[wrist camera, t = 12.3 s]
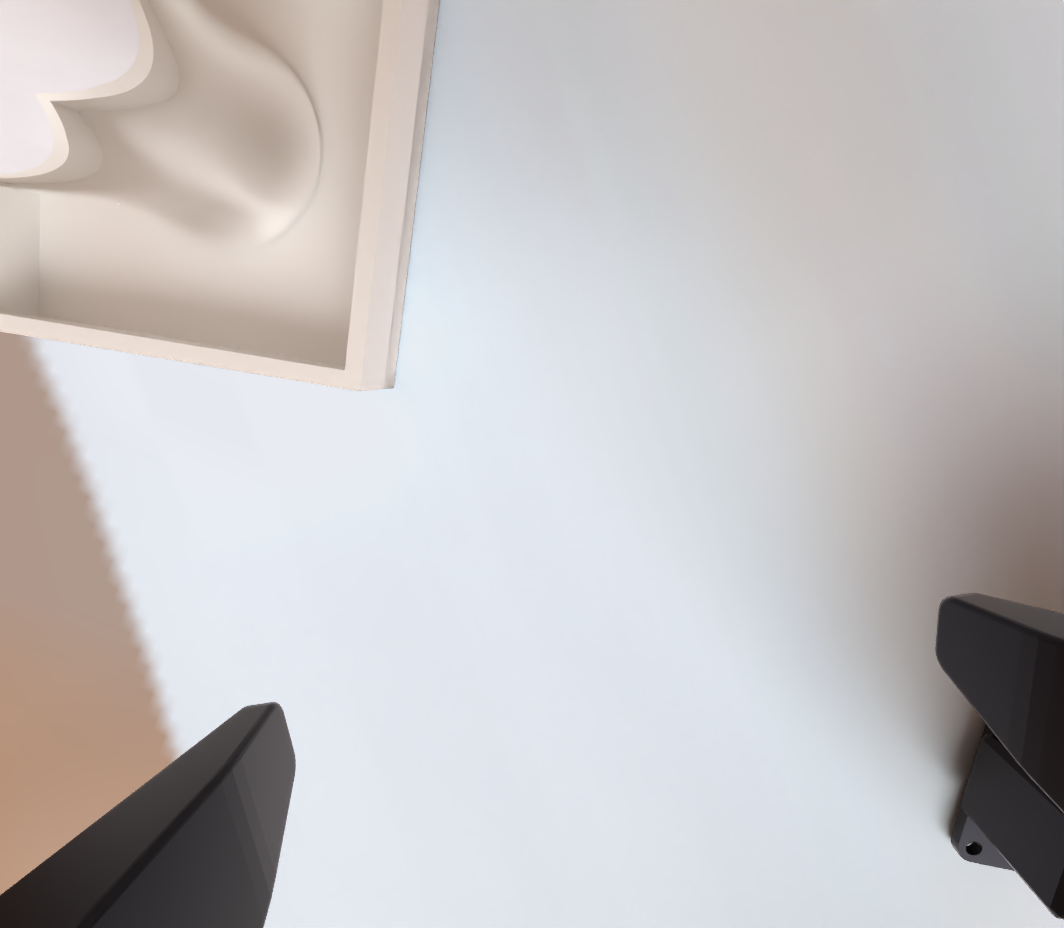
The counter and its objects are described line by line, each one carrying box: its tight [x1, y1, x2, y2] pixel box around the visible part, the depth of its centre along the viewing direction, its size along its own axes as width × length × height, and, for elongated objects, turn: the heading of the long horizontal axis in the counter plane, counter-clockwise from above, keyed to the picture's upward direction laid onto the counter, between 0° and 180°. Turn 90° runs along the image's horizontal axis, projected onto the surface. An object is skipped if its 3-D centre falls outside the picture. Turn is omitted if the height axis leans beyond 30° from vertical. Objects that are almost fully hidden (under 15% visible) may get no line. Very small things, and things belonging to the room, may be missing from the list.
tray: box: [0, 0, 440, 391], centre depth 18 cm, size 12×12×3 cm
